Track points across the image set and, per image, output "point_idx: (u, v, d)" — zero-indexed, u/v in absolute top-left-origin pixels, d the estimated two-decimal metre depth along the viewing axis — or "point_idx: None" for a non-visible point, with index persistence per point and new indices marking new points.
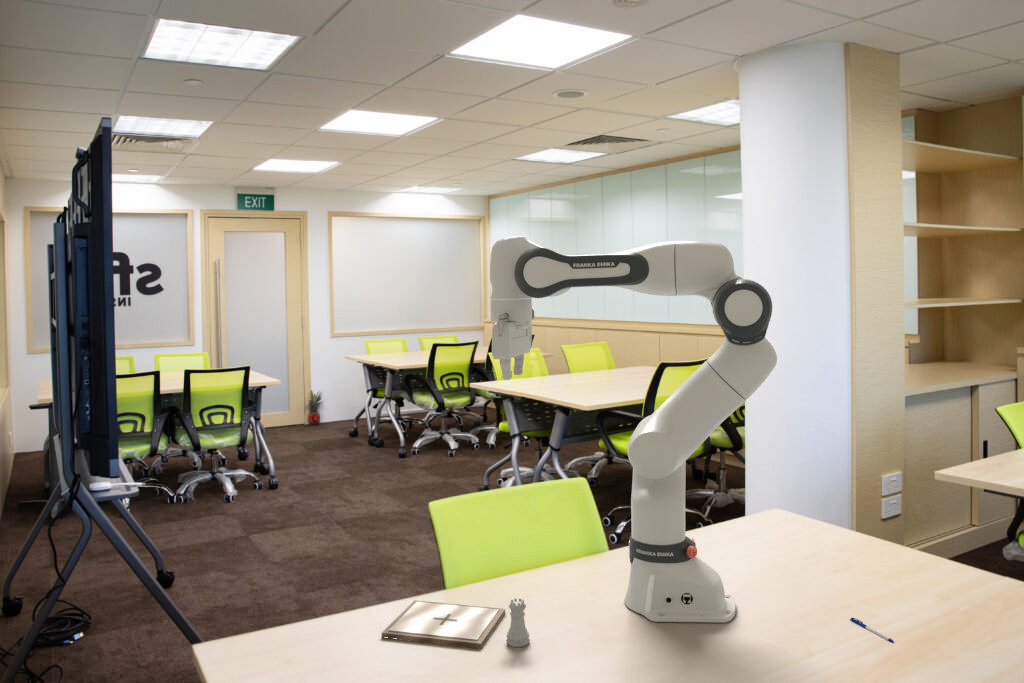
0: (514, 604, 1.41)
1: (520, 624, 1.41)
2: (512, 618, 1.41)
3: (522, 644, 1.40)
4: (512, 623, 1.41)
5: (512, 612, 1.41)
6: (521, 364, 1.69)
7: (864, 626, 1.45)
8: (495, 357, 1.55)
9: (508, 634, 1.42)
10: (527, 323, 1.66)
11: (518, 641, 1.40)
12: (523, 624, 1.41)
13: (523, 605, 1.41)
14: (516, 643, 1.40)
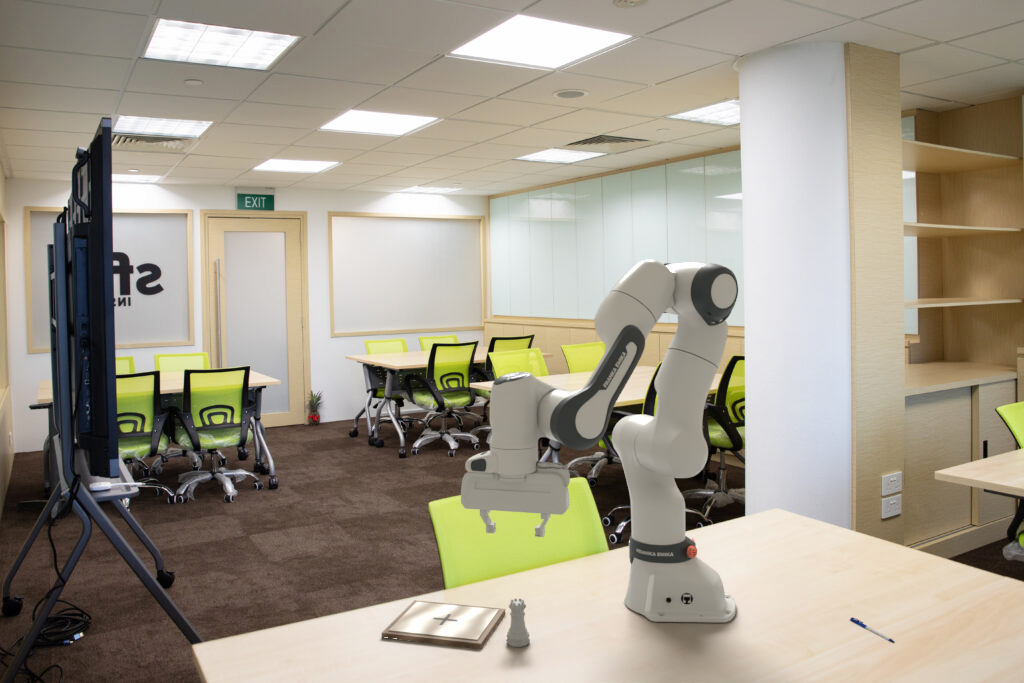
0: (514, 604, 1.41)
1: (520, 624, 1.41)
2: (512, 618, 1.41)
3: (522, 644, 1.40)
4: (512, 623, 1.41)
5: (512, 612, 1.41)
6: (490, 519, 1.43)
7: (864, 626, 1.45)
8: None
9: (508, 634, 1.42)
10: None
11: (518, 641, 1.40)
12: (523, 624, 1.41)
13: (523, 605, 1.41)
14: (516, 643, 1.40)
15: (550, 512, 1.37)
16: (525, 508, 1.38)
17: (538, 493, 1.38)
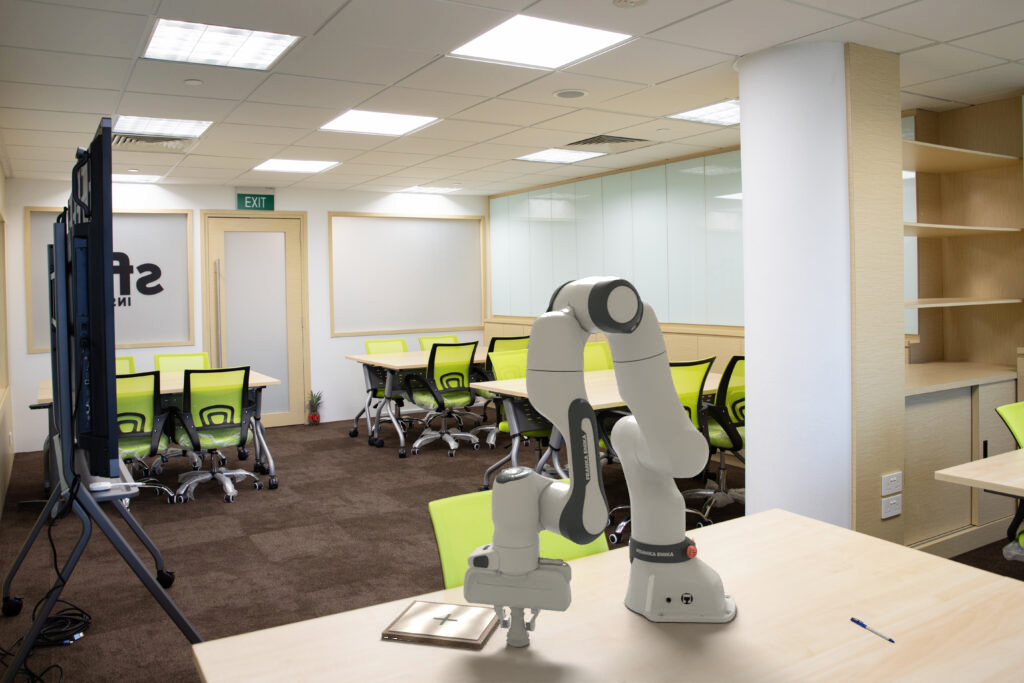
0: None
1: (520, 624, 1.41)
2: (512, 618, 1.41)
3: (522, 644, 1.40)
4: (512, 623, 1.41)
5: (512, 612, 1.41)
6: (504, 613, 1.43)
7: (864, 626, 1.45)
8: (567, 608, 1.38)
9: (508, 634, 1.42)
10: None
11: (518, 641, 1.40)
12: (523, 624, 1.41)
13: None
14: (516, 643, 1.40)
15: (552, 609, 1.38)
16: (527, 604, 1.39)
17: (540, 590, 1.39)
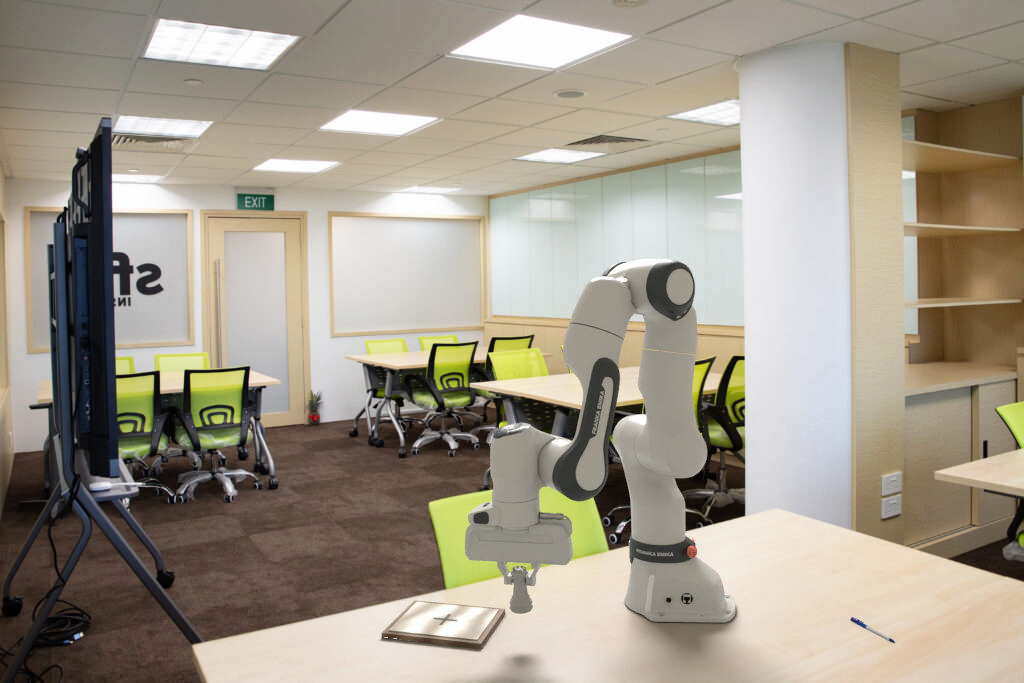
0: (516, 571, 1.41)
1: (523, 591, 1.41)
2: (514, 585, 1.41)
3: (525, 610, 1.40)
4: (515, 590, 1.41)
5: (514, 579, 1.41)
6: (507, 570, 1.43)
7: (864, 626, 1.45)
8: (568, 562, 1.38)
9: (511, 601, 1.42)
10: None
11: (521, 607, 1.40)
12: (526, 590, 1.41)
13: (525, 572, 1.41)
14: (519, 609, 1.40)
15: (554, 563, 1.38)
16: (529, 559, 1.39)
17: (541, 544, 1.38)
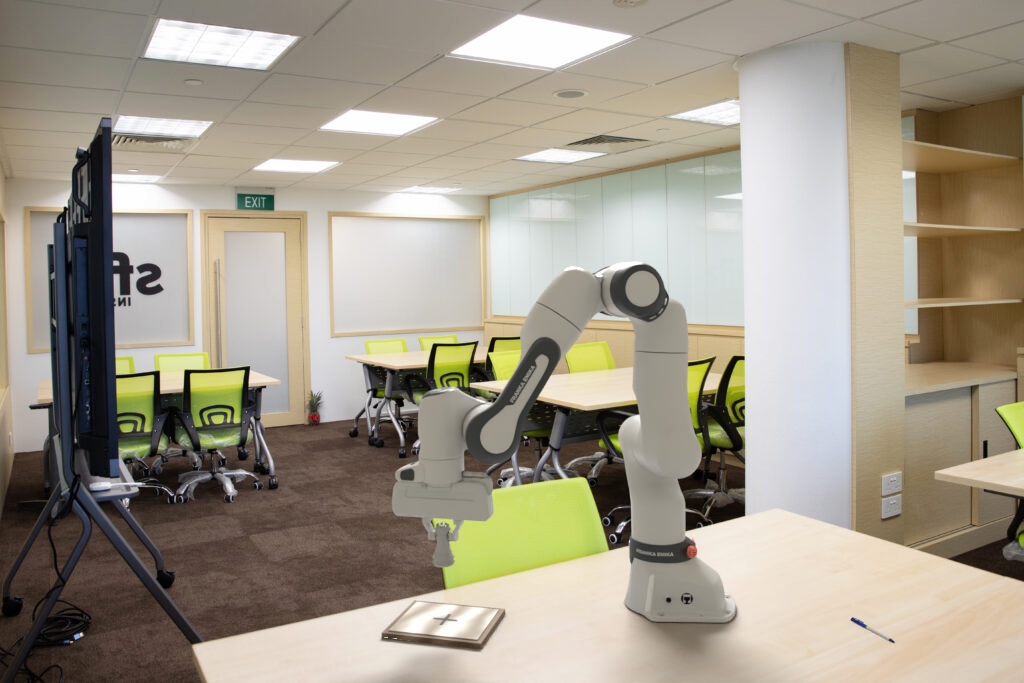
0: (439, 526, 1.48)
1: (445, 546, 1.48)
2: (437, 540, 1.49)
3: (446, 564, 1.48)
4: (438, 545, 1.48)
5: (437, 534, 1.49)
6: (432, 526, 1.51)
7: (865, 626, 1.45)
8: None
9: (434, 555, 1.49)
10: None
11: (442, 561, 1.47)
12: (448, 546, 1.49)
13: (448, 528, 1.48)
14: (440, 563, 1.48)
15: (474, 519, 1.45)
16: (451, 515, 1.47)
17: (463, 501, 1.46)
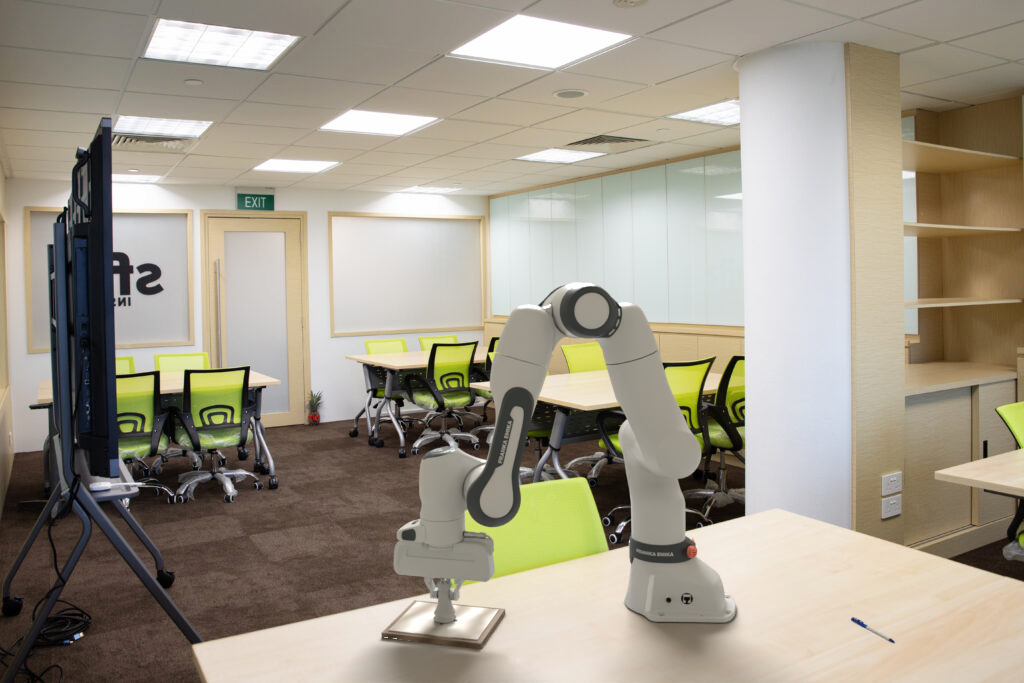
0: (440, 582, 1.49)
1: (446, 602, 1.49)
2: (439, 596, 1.49)
3: (448, 620, 1.48)
4: (439, 600, 1.49)
5: (439, 590, 1.49)
6: (434, 585, 1.51)
7: (865, 626, 1.45)
8: (489, 579, 1.46)
9: (435, 611, 1.50)
10: None
11: (444, 617, 1.48)
12: (449, 601, 1.49)
13: (449, 583, 1.49)
14: (442, 619, 1.48)
15: (475, 579, 1.46)
16: (452, 575, 1.47)
17: (464, 562, 1.47)
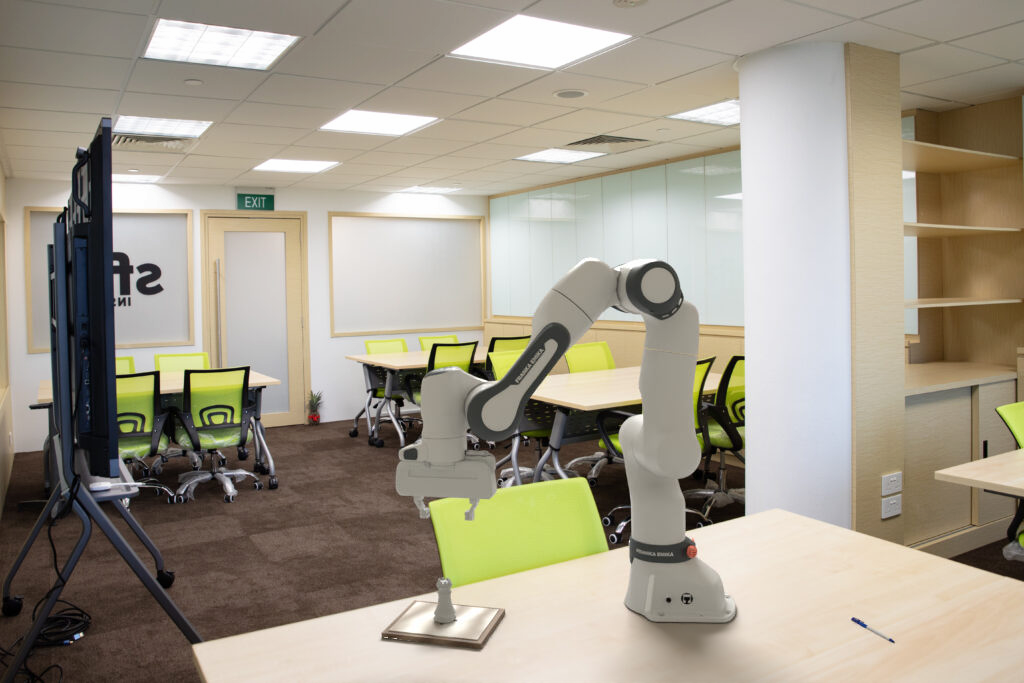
0: (440, 582, 1.49)
1: (446, 602, 1.49)
2: (439, 596, 1.49)
3: (448, 620, 1.48)
4: (439, 600, 1.49)
5: (439, 590, 1.49)
6: (424, 505, 1.52)
7: (865, 626, 1.45)
8: (491, 496, 1.46)
9: (435, 611, 1.50)
10: None
11: (444, 617, 1.48)
12: (449, 601, 1.49)
13: (449, 583, 1.49)
14: (442, 619, 1.48)
15: (478, 497, 1.46)
16: (455, 494, 1.48)
17: (466, 480, 1.47)
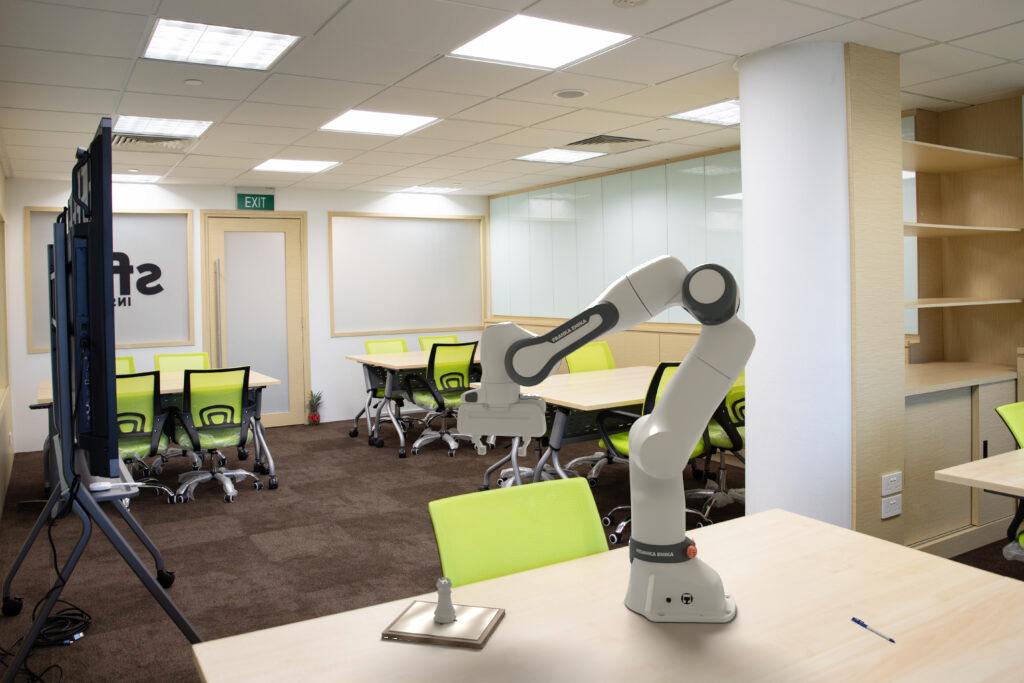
0: (440, 582, 1.49)
1: (446, 602, 1.49)
2: (439, 596, 1.49)
3: (448, 620, 1.48)
4: (439, 600, 1.49)
5: (439, 590, 1.49)
6: (481, 443, 1.73)
7: (865, 626, 1.45)
8: (542, 434, 1.67)
9: (435, 611, 1.50)
10: None
11: (444, 617, 1.48)
12: (449, 601, 1.49)
13: (449, 583, 1.49)
14: (442, 619, 1.48)
15: (530, 435, 1.67)
16: (510, 432, 1.69)
17: (520, 420, 1.68)
